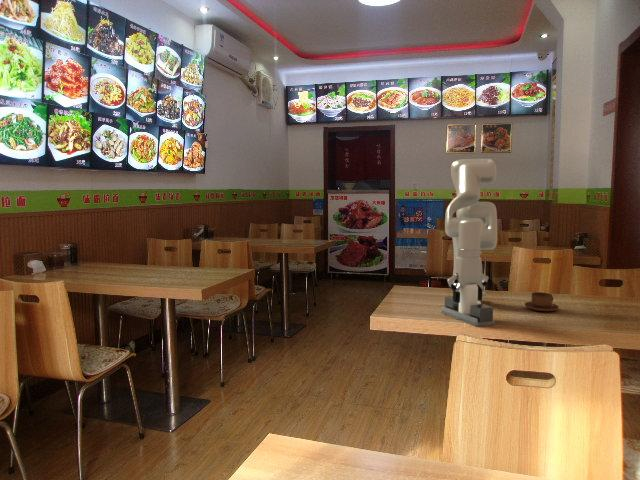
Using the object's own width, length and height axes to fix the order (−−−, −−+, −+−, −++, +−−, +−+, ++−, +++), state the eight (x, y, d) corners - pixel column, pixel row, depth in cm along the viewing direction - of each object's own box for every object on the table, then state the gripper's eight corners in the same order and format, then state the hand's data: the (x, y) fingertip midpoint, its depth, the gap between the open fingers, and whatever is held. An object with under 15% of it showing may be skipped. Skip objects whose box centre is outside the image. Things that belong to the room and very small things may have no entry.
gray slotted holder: (458, 311, 192) (459, 295, 191) (494, 324, 173) (495, 306, 173) (441, 313, 189) (441, 297, 188) (476, 326, 170) (476, 308, 170)
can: (474, 318, 177) (475, 284, 175) (456, 315, 180) (457, 283, 179) (479, 314, 182) (480, 281, 181) (461, 312, 186) (462, 280, 184)
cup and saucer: (532, 304, 203) (532, 289, 203) (563, 309, 195) (563, 294, 194) (519, 309, 195) (520, 294, 194) (550, 315, 187) (551, 299, 186)
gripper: (481, 251, 185) (479, 296, 187) (442, 253, 179) (441, 300, 181) (495, 254, 178) (493, 301, 180) (455, 256, 172) (454, 305, 174)
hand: (467, 300), depth 181 cm, fingers open, 9 cm apart
